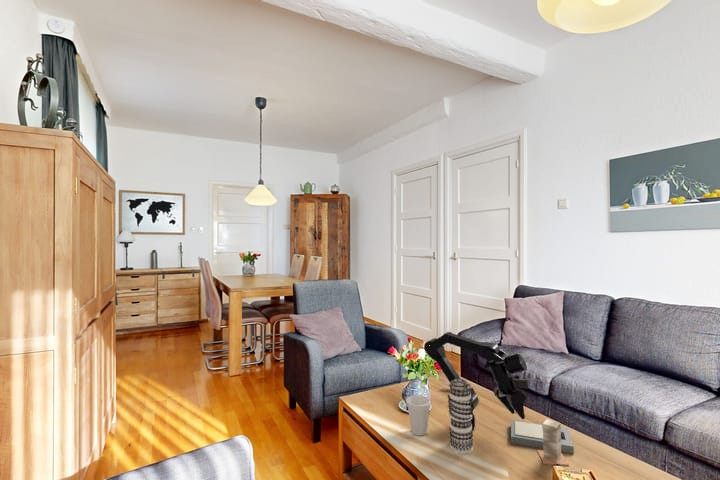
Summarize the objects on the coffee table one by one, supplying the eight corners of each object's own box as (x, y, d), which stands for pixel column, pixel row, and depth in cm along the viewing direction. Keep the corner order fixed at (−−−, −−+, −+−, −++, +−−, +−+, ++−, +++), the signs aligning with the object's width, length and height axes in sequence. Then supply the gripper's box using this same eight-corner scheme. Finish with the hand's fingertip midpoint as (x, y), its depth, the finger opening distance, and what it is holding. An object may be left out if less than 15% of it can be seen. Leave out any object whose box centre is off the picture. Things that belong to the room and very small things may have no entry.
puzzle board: (511, 442, 143) (510, 435, 143) (511, 425, 156) (510, 418, 156) (573, 453, 135) (573, 445, 135) (568, 434, 148) (568, 427, 148)
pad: (543, 464, 129) (543, 462, 129) (537, 451, 137) (537, 450, 137) (568, 465, 128) (568, 464, 128) (560, 452, 135) (560, 451, 135)
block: (543, 457, 132) (542, 423, 132) (547, 452, 135) (546, 419, 135) (557, 462, 129) (556, 427, 129) (561, 456, 132) (560, 423, 132)
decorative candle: (471, 456, 134) (469, 387, 134) (446, 450, 139) (444, 383, 139) (476, 444, 142) (475, 379, 142) (452, 438, 147) (451, 375, 147)
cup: (412, 424, 159) (411, 393, 159) (435, 429, 154) (434, 398, 154) (403, 435, 150) (402, 402, 150) (426, 441, 145) (425, 407, 145)
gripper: (530, 371, 139) (549, 413, 135) (510, 366, 157) (526, 403, 153) (503, 381, 138) (521, 425, 134) (486, 375, 156) (502, 413, 152)
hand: (518, 416), depth 144 cm, fingers open, 9 cm apart
